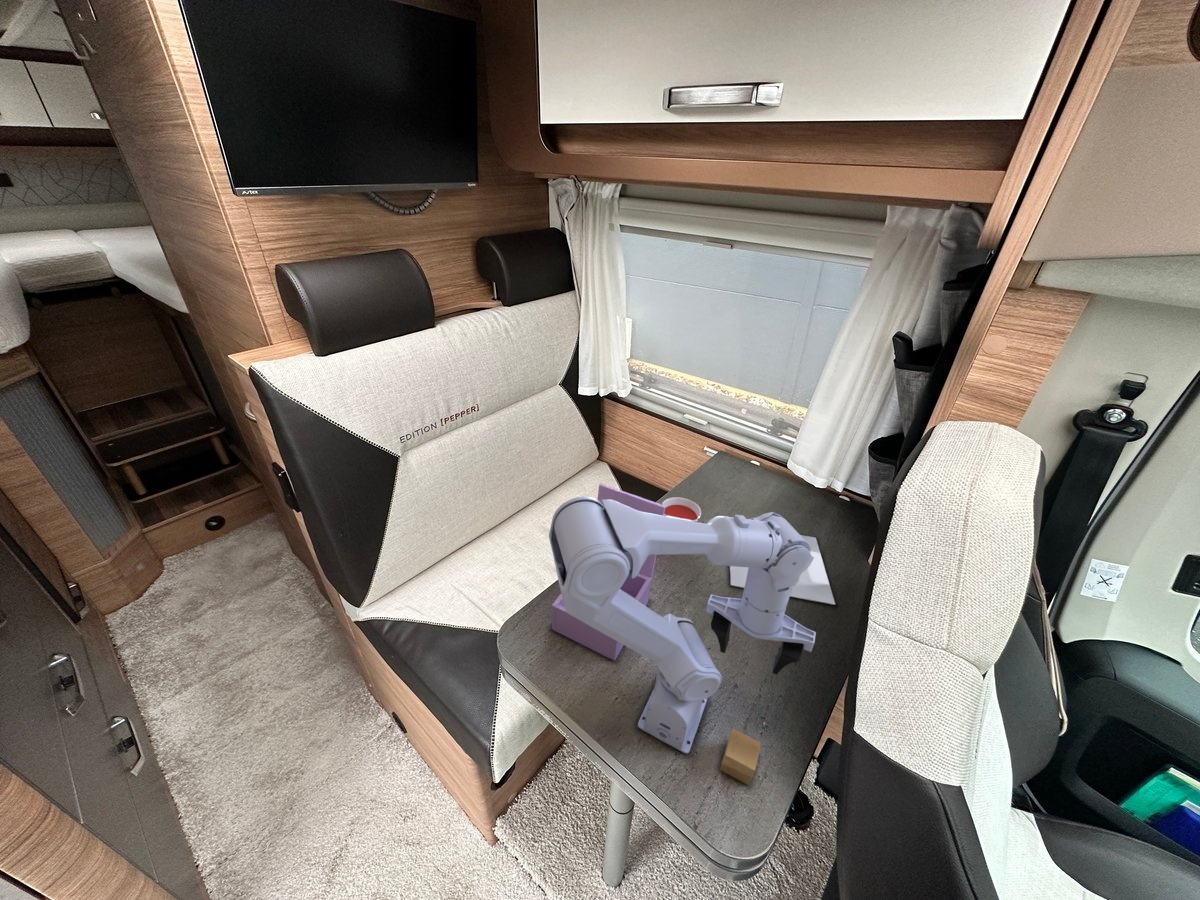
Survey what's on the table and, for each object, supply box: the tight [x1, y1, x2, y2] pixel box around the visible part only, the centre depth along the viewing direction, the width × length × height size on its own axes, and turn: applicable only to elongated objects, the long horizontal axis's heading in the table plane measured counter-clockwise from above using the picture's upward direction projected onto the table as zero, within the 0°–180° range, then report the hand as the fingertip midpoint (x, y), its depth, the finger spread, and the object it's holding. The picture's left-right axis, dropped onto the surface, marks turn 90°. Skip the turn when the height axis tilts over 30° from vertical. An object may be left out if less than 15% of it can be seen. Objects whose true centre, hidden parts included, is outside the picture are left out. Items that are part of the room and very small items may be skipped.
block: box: [719, 728, 762, 786], centre depth 65 cm, size 4×4×4 cm
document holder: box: [729, 534, 836, 606], centre depth 101 cm, size 20×1×20 cm
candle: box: [660, 497, 702, 522], centre depth 107 cm, size 9×9×6 cm
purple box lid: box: [596, 483, 665, 579], centre depth 85 cm, size 16×13×1 cm
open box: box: [551, 573, 653, 662], centre depth 85 cm, size 15×13×6 cm
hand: (749, 657), depth 70 cm, fingers open, 7 cm apart
